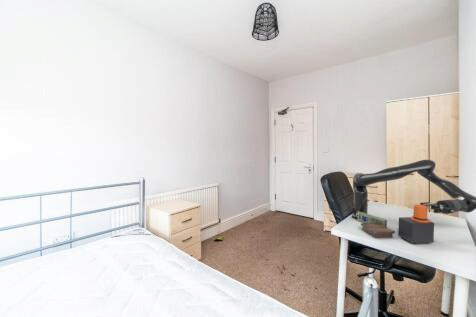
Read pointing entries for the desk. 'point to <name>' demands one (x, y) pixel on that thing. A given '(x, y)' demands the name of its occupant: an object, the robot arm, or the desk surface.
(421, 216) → the hat
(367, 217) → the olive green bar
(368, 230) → the stand
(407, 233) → the dark grey cube pedestal
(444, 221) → the desk surface
